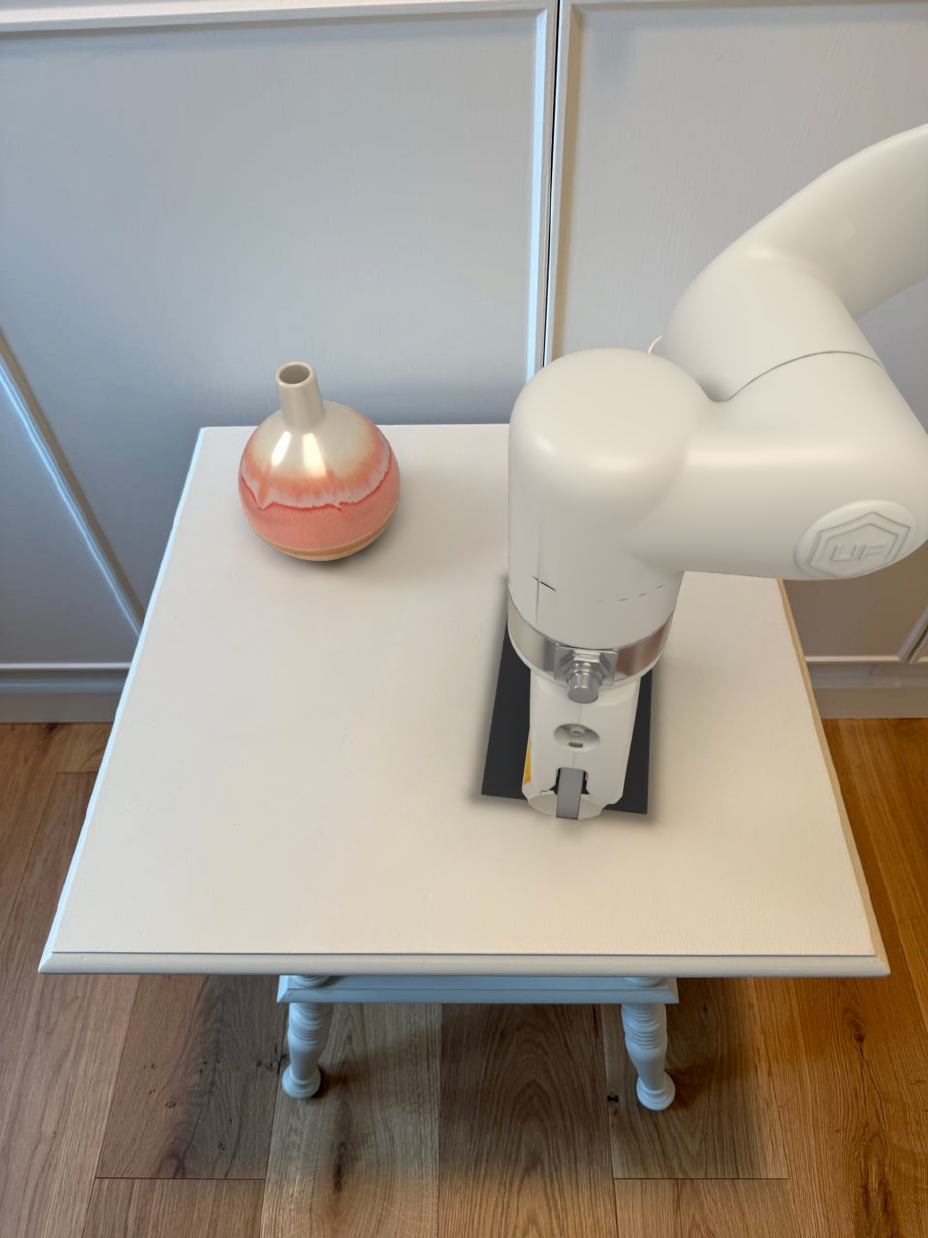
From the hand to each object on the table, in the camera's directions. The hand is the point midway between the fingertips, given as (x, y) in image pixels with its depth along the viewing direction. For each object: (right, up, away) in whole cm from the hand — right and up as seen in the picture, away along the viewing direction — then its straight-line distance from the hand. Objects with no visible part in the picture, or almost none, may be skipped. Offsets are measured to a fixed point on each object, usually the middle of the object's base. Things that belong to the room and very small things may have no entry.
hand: (567, 780), depth 57 cm
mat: (+2, +5, +16) cm, 16 cm away
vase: (-19, +18, +26) cm, 37 cm away
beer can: (0, -3, +6) cm, 7 cm away
